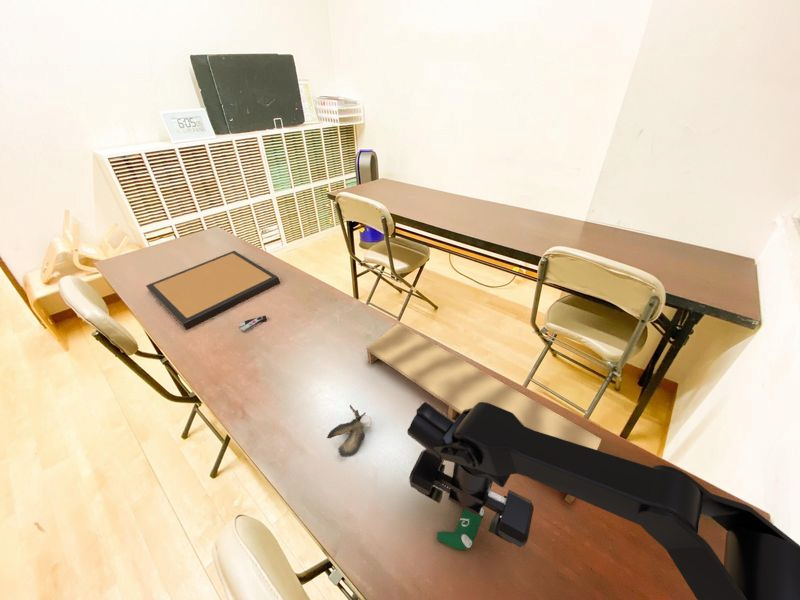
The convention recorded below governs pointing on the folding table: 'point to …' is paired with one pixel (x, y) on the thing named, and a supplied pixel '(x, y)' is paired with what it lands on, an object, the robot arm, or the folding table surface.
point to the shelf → (468, 385)
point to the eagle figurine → (352, 433)
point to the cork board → (211, 288)
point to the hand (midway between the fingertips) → (464, 513)
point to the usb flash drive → (251, 323)
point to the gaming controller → (462, 531)
